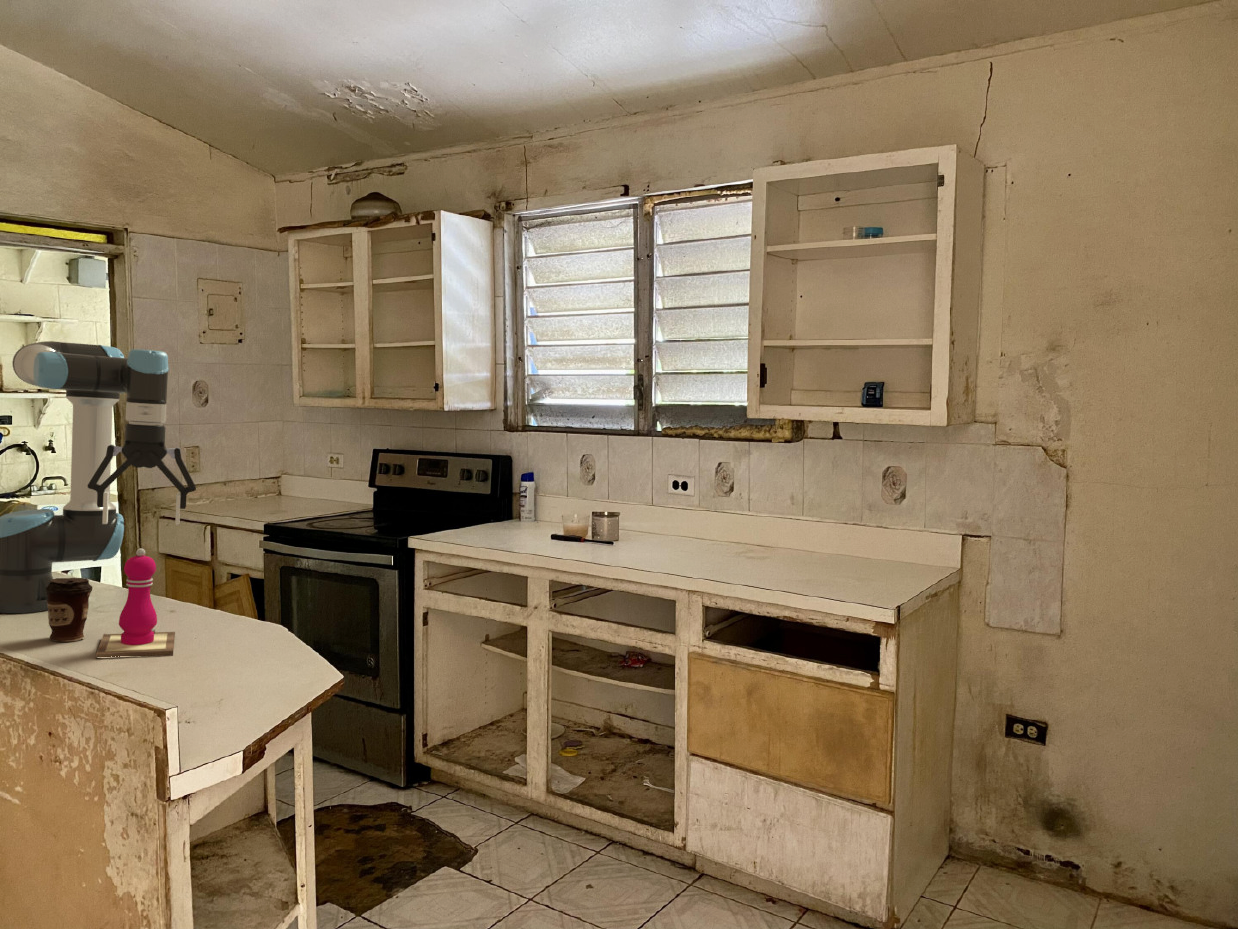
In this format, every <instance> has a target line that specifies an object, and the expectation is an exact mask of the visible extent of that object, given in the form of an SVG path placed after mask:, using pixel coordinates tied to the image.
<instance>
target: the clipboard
mask: <svg viewBox="0 0 1238 929" xmlns="http://www.w3.org/2000/svg"><path fill="white" fill-rule="evenodd" d="M151 631H153V632H154V641H153V642H151V643H148V644H142V645H127V644H123V643H121V634H122V633H106V634H105V633H104V634H103V635H102V638H101V641H100V643H99V645H98V649H97V651H96V654H95V658H96V657H111V656H112V657H115V656H116V657H118V656H119V657H120V656H148V657H166V656H173V655H174V651H175V650H174V648H175V640H176V639H175V638H176V631H158V632H157V631H156V628H153V629H152V630H151Z"/></svg>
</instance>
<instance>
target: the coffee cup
mask: <svg viewBox="0 0 1238 929" xmlns="http://www.w3.org/2000/svg"><path fill="white" fill-rule="evenodd" d="M50 582H51V583H49V585H48V586H47V587H46V591H47V595H48V600H47V605H48V610H47V616H48V617H47V618H48V626H49V628H50V629H51V633H50V635H49V640H50V639H51V640H50V641H53V640H55V641H54V642H76V641H77V642H78V641H81V639H82V640H84V639H85V635H84V629H85V624H86V621H87V619H88V612H89V604H90V603H89V599H90V595H91V593H92V591H93V586H92V585H91V584H90V580H89V578H83V577H60V578H59V577H58V578H57V577H56V578H53V579H52V580H50ZM83 638H84V639H83Z"/></svg>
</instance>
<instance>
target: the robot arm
mask: <svg viewBox="0 0 1238 929" xmlns="http://www.w3.org/2000/svg"><path fill="white" fill-rule="evenodd" d="M11 363H12V369H13V372H14V374H15V375H16V376H17V378H18V379H20V380H21V381H23V382H25V383H26V384H29V385H32V386H35V387H39V388H41V389H43V388H44V389H49V390H57V391H58V390H63V391H65V398H66V399H67V400H68V401H69V402H70V403H71V404H72V425H71V426H72V428H71V429H72V430H71V432H72V434H71V461H70V463H71V465H70V466H71V468H70V470H71V471H70V494H69V495H70V498H69V499H70V500H69V501H68V502H67V503H66V504H65V505H64V506H62V507H63V508H62V514H57V515H56V514H55V512H54V510H52V509H49V508H41V509H37V508H36V509H35V508H34V509H26V510H24V509H23V510H20V511H18V510H17V511H13V512H8V513H5V514H3V515H1V516H0V614H28V613H29V614H30V613H37V612H38V613H39V612H45V611H48V605H47V600H48V595H47V591H46V587H47V586H48V585H49V583H51V582H50V580H52V579H54V577H53V572H52V571H53V564H54V563H67V562H68V563H69V562H83V561H84V562H86V561H88V562H89V561H92V562H98V561H102V560H104V561H105V560H110V559H113V558H114V557H116V556H117V554H118V553H119V551H120V549H121V546H122V543H123V538H124V533H125V525H124V523H125V521H124V520H125V519H124V516H123V515H122V514H120V513H118V512H117V506H116V505H114V503H112V502H111V501H110V498H111V496H110V495H111V484H113V483H114V481H116V480H117V479H118V478H119V477H120V476H121V475H122V474H123V473H124V472H125V471H126V470H127V469H128V468H129V467H131V466H132V467H134V468H135V469H139V468H146V469H152V468H155V467H157V468H158V470H160V472H162V473H163V475H164V476H165V477H166V478H167V479H168V480H169V482H171V483H172V485H173V486H174V487H175V488H176V489H177V491H179V492H177V493H176V499H175V502H176V503H175V505H176V506H175V524H174V525H176V526H178V525H180V522H181V521H180V520H181V516H180V515H181V510H185V509H186V508H187V496H188V494H189V493H192V492H195V491H196V490H197V486H196V484H195V481H194V480H193V478H192V476H191V474H190V472H189V470H188V468H187V466H186V464H185V462H184V460H183V458H182V449H181V448H180V447H178V446H177V447H175V448H166V427H165V425H164V424H165V423H166V422H167V405H168V404H167V398H168V397H167V396H168V378H169V377H168V376H169V370H170V367H169V356H168V354H167V352H166V351H162V350H152V349H151V350H150V349H140V348H139V349H137V348H132V349H130V350H129V351H128V356H127V357H125V355H124V354H123V352H122V351H121V350H120V349H119V348H117V347H114V346H107V345H101V344H91V343H90V344H88V343H76V342H65V341H63V342H62V341H54V340H49V341H45V340H44V341H38V342H34V343H27V344H26V345H24V346H22V347H20V348H19V349H18V350H17V351H16V352H15V353H14V355H13V357H12V362H11ZM122 394H126V403H125V404H126V405H125V421H126V422H128V423H126V424H125V427H124V428H125V429H124V430H125V431H124V444H123V446H120V445H119V446H117V445H114V444H112V433H113V431H112V429H113V427H112V426H113V407H114V405H115V404H117V403H118V402H120V395H122ZM119 453H122V455H123V456H124V457H125V458H126V459H125V461H124V462H122V464H121V465H120V466H119V467H118V468H116V469H115V470H114V471H113V473H111V468H112V467H111V466H112V464H111V463H112V460H113V457H115V456H118V454H119ZM166 455H170V458H171V459H174V460H175V462H176V464H177V465H176V466H177V467H178V469H179V471H180V473H181V475H182V477H183V479H184V480H185V482H186V485H187V486H184V484H183V482H181V481H180V480H179V478H178V477H176V475H175V474H174V473H173V471H172V470H171V469H170V468H169V467H168V466H167V465H166V464H165V462H164V461H163V459H164V458H165V457H166Z"/></svg>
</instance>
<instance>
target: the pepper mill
mask: <svg viewBox="0 0 1238 929" xmlns="http://www.w3.org/2000/svg"><path fill="white" fill-rule="evenodd" d="M135 554H136V555H133V556H131V557H129V558H128V559H127V560H126V562H125V563H124V567H123V570H124V573H125V575H126V577H127V578H126V584H125V586H127V589H128V590H127V591H128V592H127V593H128V594H127V598H126V602H125V604H124V607H123V608H122V610H121V611H120V615H119V620H118V626H119V627H120V628H121V630H122V631H123V632H121V633H120V634H121V643H123V644H127V645H142V644H148V643H151V642H153V641H154V632H153V631H151V630H152V629H155V627H156V626H157V623H158V617H157V616H158V615H157V611H156V609H155V607H154V604H153V601H152V598H151V586H152V585H153V584H154V583H153V580H154V579H153V577H152V576H153V575H154V574H155V573H156V571H157V564H156V562H155V560H154V559H153V558H152V557H150V556H147V555H146V550H145V549H144V548H138V549H137V550H136V551H135Z"/></svg>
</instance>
